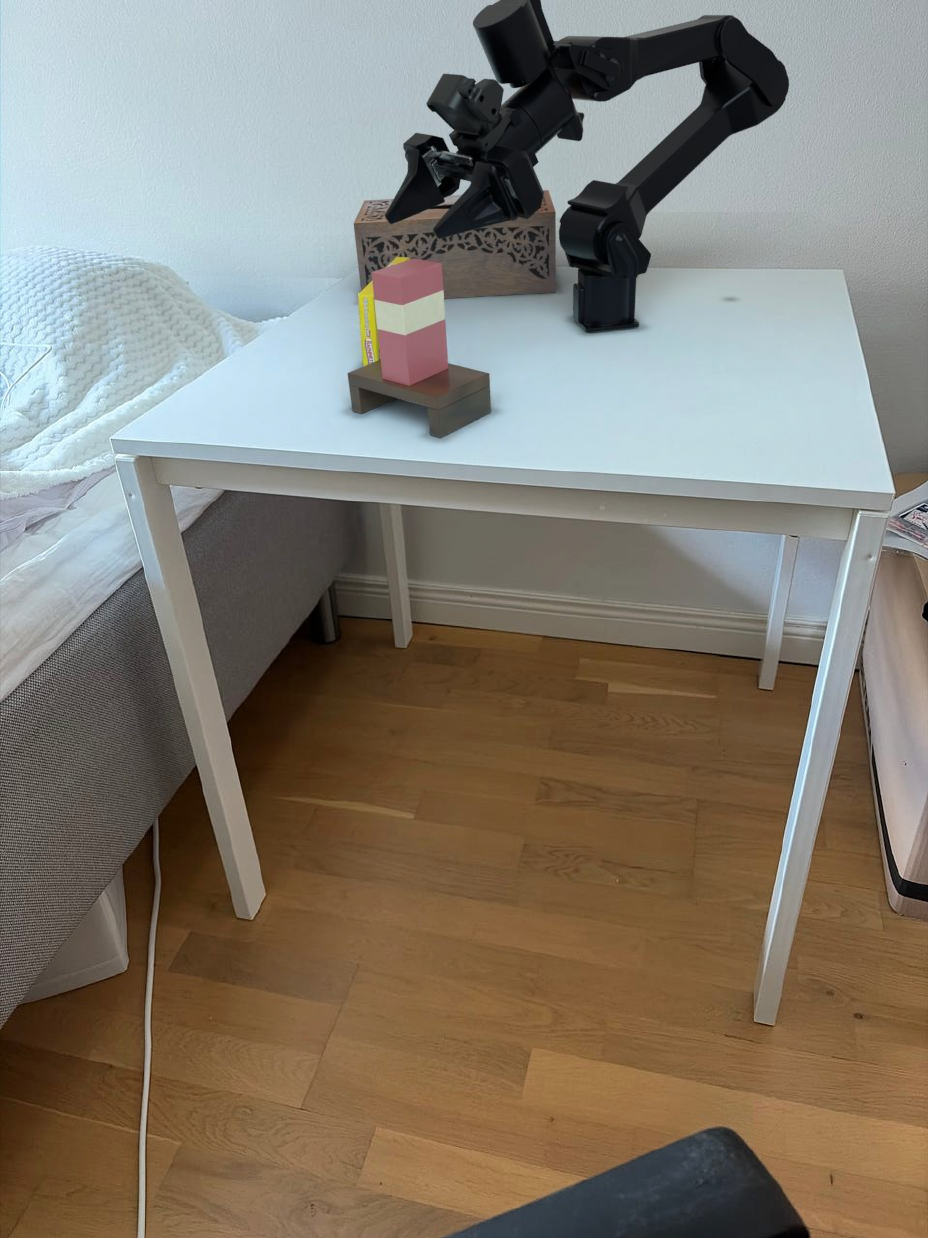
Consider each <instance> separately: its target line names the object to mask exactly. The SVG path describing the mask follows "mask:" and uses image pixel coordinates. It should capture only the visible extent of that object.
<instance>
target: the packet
mask: <svg viewBox="0 0 928 1238" xmlns="http://www.w3.org/2000/svg"><path fill="white" fill-rule="evenodd" d="M372 283H373V292H374V303H375V313H376V322H377V330H378V339H379V349H380V358H381V367H382V377H383V379H385V380H389V381H393V382H396V383H400V384H404V385H407V386H411V385H413V384H415V383H417V382H420V381H422V380H424V379H426V378H428V377H431V376H433V375H435V374H437V373H440V372H442V371H444V370H446V369H448V363H449V355H448V341H447V325H446V307H445V298H444V290H443V277H442V263H438V262H432V261H426V260H420V259H414V258H413V259H410V260H407V261H404V262H401V263H398V264H395V265H392V266H389V267H386V268H383V269H380V270H377V271H374V272H372Z"/></svg>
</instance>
